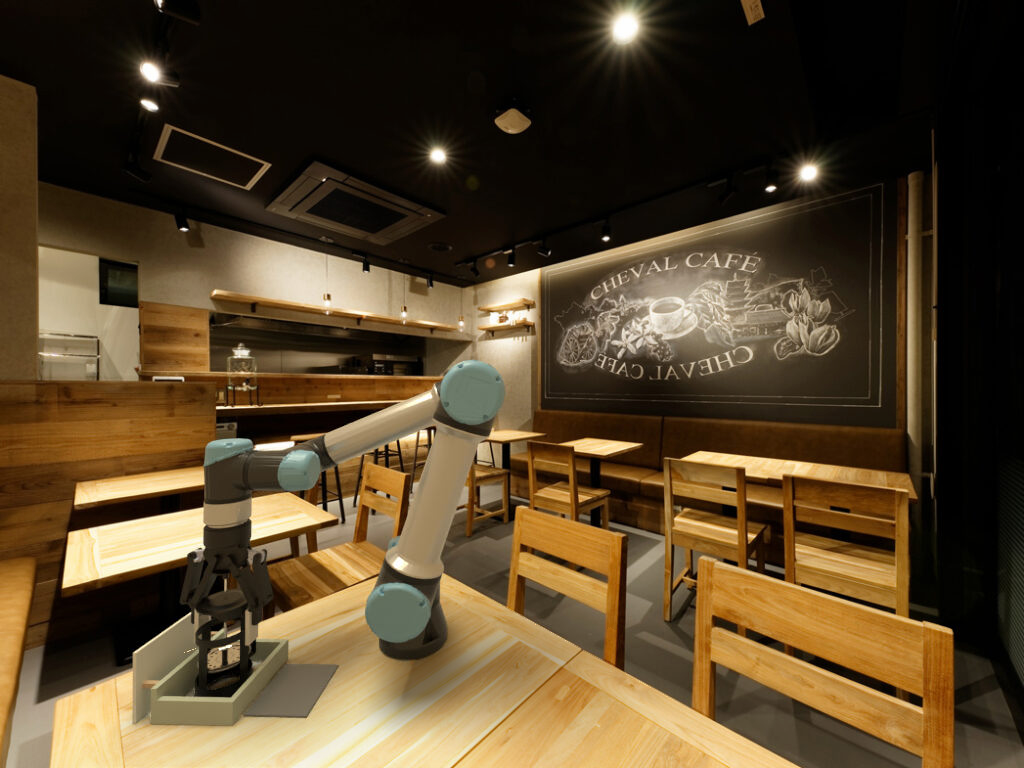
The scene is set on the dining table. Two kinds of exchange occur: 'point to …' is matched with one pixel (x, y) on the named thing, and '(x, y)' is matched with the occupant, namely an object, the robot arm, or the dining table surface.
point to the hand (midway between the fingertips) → (226, 640)
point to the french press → (223, 643)
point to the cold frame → (193, 679)
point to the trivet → (292, 691)
